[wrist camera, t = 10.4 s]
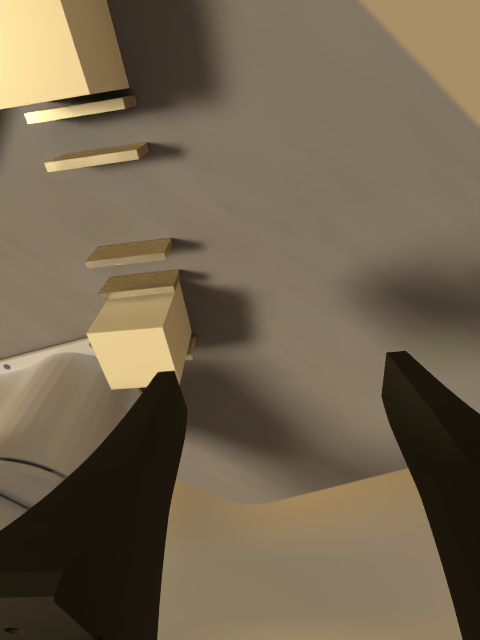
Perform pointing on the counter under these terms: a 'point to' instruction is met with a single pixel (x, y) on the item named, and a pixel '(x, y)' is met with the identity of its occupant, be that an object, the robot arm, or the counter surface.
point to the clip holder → (120, 252)
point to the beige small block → (141, 338)
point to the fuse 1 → (57, 51)
